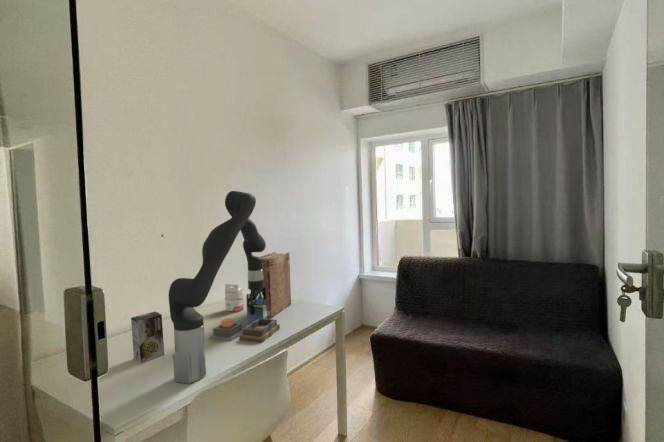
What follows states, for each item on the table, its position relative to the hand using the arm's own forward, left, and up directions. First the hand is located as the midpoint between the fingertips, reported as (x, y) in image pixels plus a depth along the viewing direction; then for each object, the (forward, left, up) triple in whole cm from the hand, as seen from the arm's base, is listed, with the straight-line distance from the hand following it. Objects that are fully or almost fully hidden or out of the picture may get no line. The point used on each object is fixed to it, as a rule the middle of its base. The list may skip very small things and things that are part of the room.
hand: (257, 311), depth 169 cm
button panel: (-17, +5, -5) cm, 19 cm away
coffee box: (-44, +22, -6) cm, 50 cm away
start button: (-17, +5, -2) cm, 18 cm away
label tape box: (0, 0, -6) cm, 6 cm away
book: (+20, +1, -6) cm, 21 cm away
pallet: (-13, -9, -5) cm, 17 cm away
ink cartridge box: (+16, +23, -6) cm, 29 cm away
